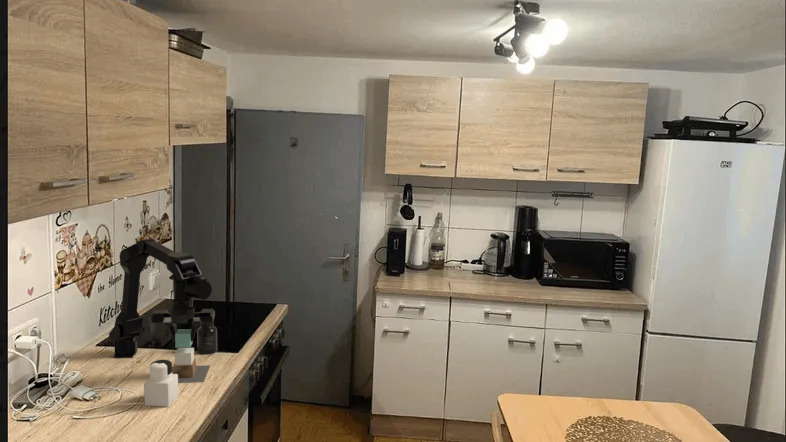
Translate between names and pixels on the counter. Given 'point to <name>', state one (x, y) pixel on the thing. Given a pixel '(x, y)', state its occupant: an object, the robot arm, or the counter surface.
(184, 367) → the tower base
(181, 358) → the tower mid
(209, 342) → the supplement bottle
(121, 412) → the counter surface
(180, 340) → the teal cube
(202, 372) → the mat
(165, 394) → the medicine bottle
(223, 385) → the counter surface
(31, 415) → the counter surface
